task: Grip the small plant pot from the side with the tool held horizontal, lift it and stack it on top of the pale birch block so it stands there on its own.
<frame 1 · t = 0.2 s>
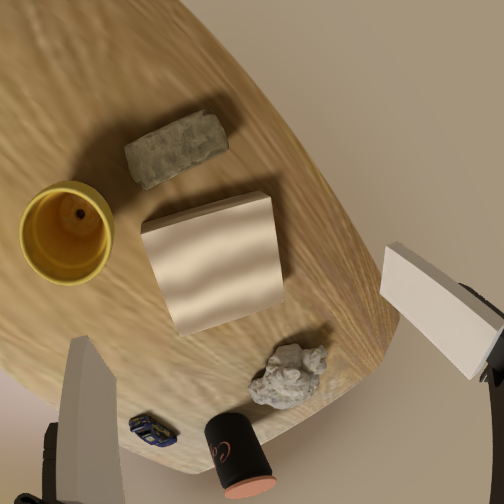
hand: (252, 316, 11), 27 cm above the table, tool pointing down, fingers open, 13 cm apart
coffee jar: (225, 423, 58), on the table
birch block: (214, 259, 41), on the table
stone block: (172, 146, 33), on the table
mineral: (280, 362, 54), on the table
race car: (154, 427, 52), on the table
plant pot: (82, 211, 32), on the table
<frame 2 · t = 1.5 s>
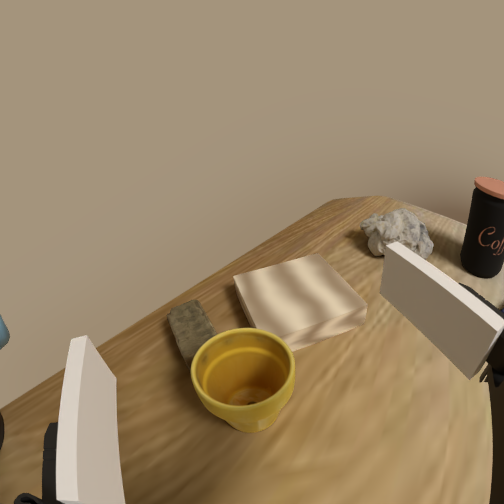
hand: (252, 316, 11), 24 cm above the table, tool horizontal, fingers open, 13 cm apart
coffee jar: (479, 266, 48), on the table
birch block: (296, 309, 47), on the table
stone block: (199, 347, 42), on the table
mineral: (392, 251, 58), on the table
plant pot: (253, 410, 32), on the table
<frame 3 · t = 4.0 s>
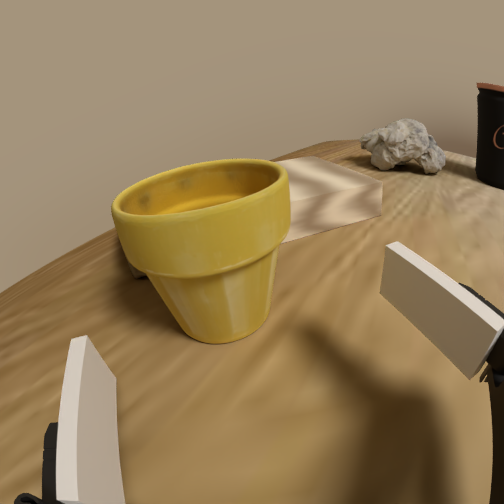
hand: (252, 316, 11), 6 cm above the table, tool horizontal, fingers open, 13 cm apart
coffee jar: (498, 183, 38), on the table
birch block: (289, 207, 36), on the table
mineral: (400, 169, 48), on the table
plant pot: (226, 312, 21), on the table
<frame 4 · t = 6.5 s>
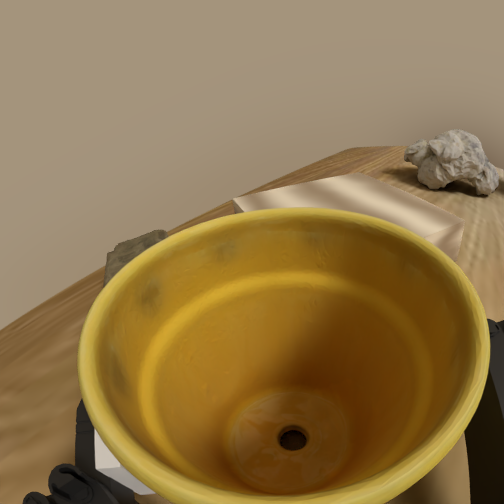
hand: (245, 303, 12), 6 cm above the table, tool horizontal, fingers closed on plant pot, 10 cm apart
birch block: (342, 245, 27), on the table
stone block: (158, 318, 22), on the table
mineral: (448, 187, 38), on the table
plant pot: (291, 445, 12), on the table, touching gripper
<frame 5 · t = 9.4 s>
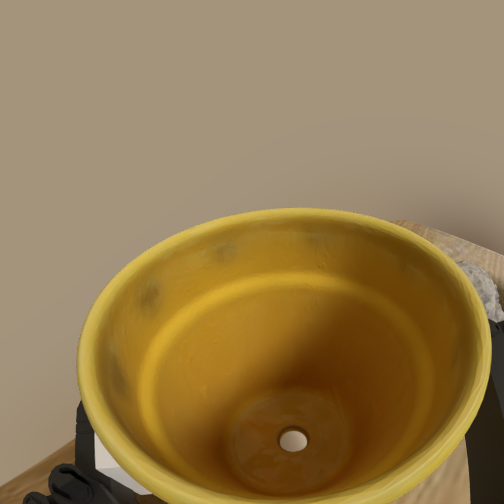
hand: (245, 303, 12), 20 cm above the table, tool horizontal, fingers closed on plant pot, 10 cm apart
birch block: (289, 471, 21), on the table
mineral: (444, 326, 33), on the table
plant pot: (291, 446, 12), point 14 cm above the table, touching gripper
when the fingers open (11 cm above the table, at t = 12.3 s): plant pot stays where it is, resting on birch block.
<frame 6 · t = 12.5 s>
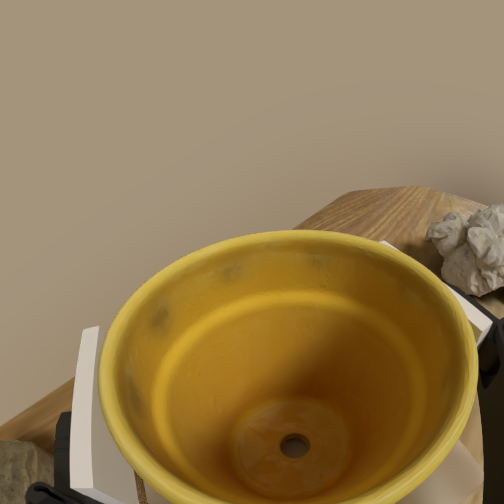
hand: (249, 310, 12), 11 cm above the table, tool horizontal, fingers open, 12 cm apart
birch block: (292, 469, 14), on the table
mineral: (481, 284, 25), on the table
plant pot: (293, 452, 12), point 4 cm above the table, touching birch block
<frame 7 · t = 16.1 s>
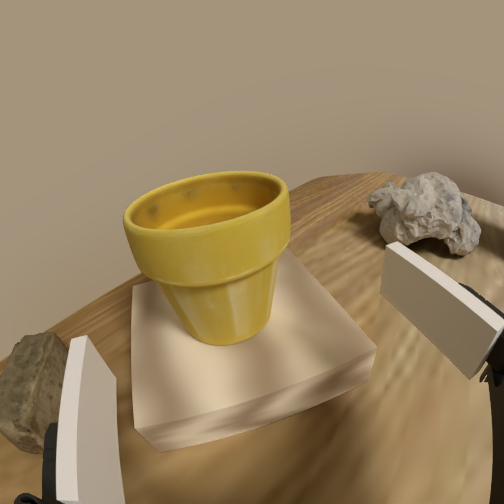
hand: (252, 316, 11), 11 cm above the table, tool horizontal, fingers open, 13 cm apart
birch block: (236, 348, 24), on the table
stone block: (48, 407, 19), on the table
mineral: (417, 241, 35), on the table
plant pot: (229, 316, 22), point 4 cm above the table, touching birch block
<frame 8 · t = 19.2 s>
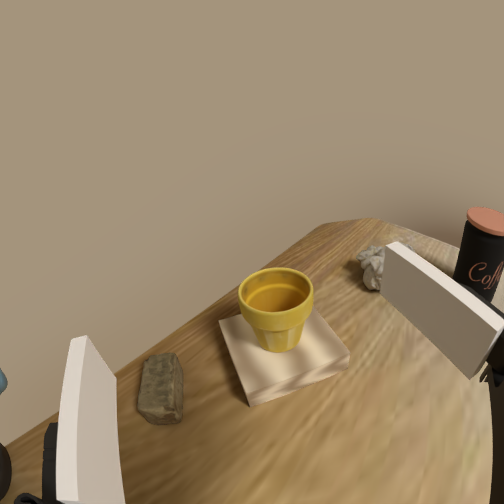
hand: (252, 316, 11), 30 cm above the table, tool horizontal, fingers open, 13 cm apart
coffee jar: (469, 296, 48), on the table
birch block: (281, 352, 46), on the table
stone block: (167, 397, 41), on the table
mineral: (388, 284, 57), on the table
plant pot: (280, 337, 44), point 4 cm above the table, touching birch block
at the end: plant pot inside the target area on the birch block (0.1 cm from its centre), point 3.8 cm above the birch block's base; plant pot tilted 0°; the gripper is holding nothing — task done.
